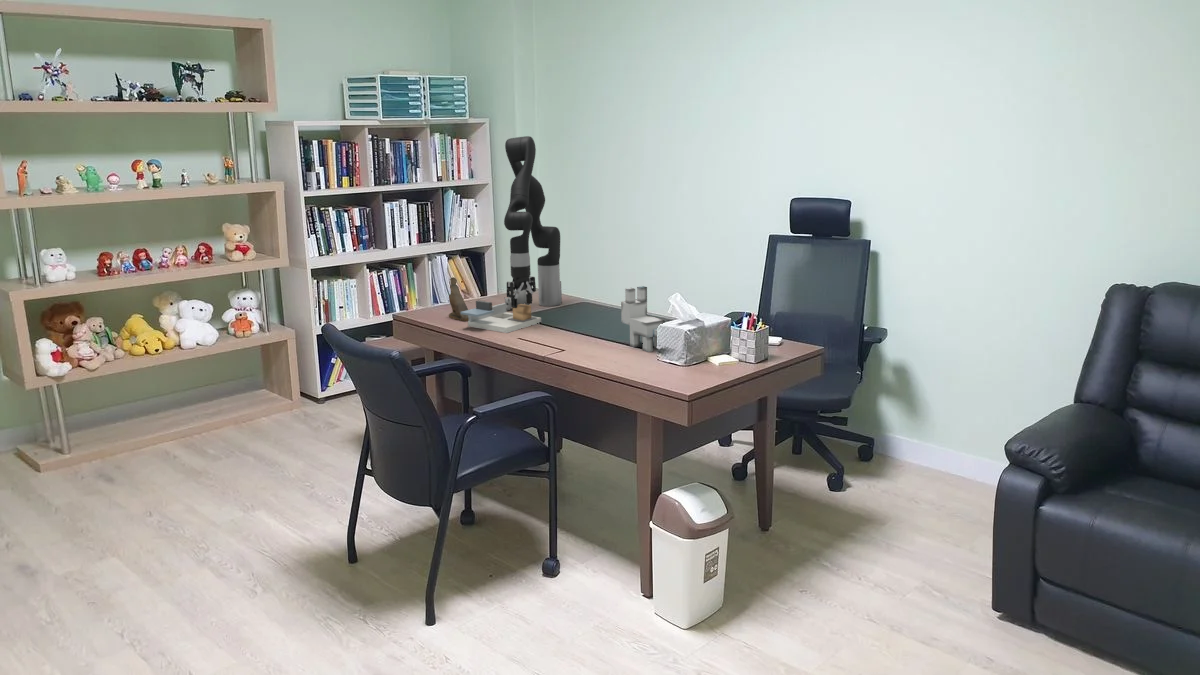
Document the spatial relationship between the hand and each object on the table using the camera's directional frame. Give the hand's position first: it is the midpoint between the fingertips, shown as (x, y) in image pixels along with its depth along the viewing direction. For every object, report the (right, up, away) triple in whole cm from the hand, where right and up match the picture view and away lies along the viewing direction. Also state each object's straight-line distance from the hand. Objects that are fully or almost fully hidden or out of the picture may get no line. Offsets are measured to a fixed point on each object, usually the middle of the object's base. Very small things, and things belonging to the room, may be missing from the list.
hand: (522, 305), depth 338 cm
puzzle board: (-7, -7, +2) cm, 10 cm away
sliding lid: (-17, -3, -5) cm, 17 cm away
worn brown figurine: (-26, -5, +13) cm, 29 cm away
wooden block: (0, -5, +1) cm, 5 cm away
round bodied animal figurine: (-5, -1, +29) cm, 29 cm away
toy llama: (+46, -16, -34) cm, 59 cm away
